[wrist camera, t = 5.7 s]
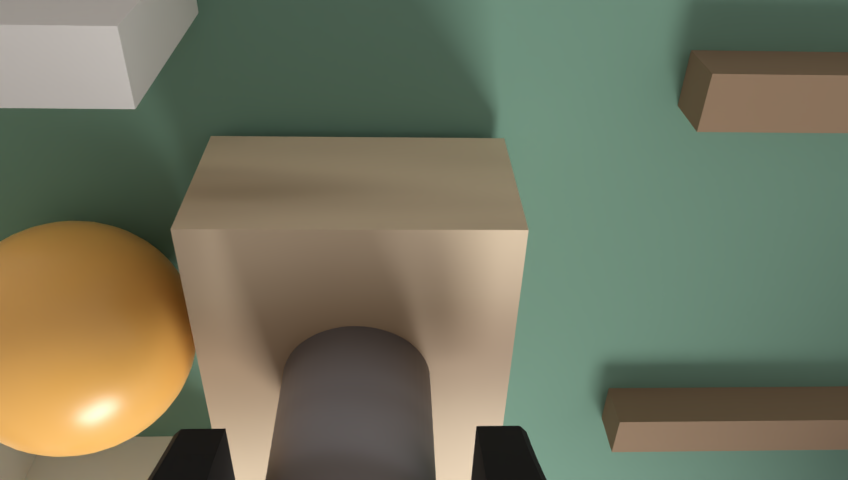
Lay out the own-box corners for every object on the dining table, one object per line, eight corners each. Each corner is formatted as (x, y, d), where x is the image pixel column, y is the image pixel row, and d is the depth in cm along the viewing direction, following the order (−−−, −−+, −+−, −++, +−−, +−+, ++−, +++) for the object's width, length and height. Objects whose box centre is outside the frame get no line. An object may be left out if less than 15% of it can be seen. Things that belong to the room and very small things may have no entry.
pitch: (879, 460, 20) (922, 525, 19) (26, 470, 19) (-8, 540, 18) (1241, -149, 12) (1378, -127, 10) (-267, -188, 11) (-386, -171, 9)
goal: (266, 462, 18) (242, 604, 15) (13, 465, 18) (-60, 609, 15) (188, -54, 11) (117, 26, 8) (-229, -62, 11) (-453, 18, 8)
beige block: (479, 383, 16) (536, 813, 10) (249, 385, 16) (155, 826, 10) (504, 138, 13) (615, 557, 6) (210, 136, 13) (22, 568, 6)
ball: (66, 329, 16) (243, 357, 15) (-69, 484, 13) (149, 527, 12) (11, 166, 13) (217, 192, 13) (-173, 304, 10) (92, 347, 10)
